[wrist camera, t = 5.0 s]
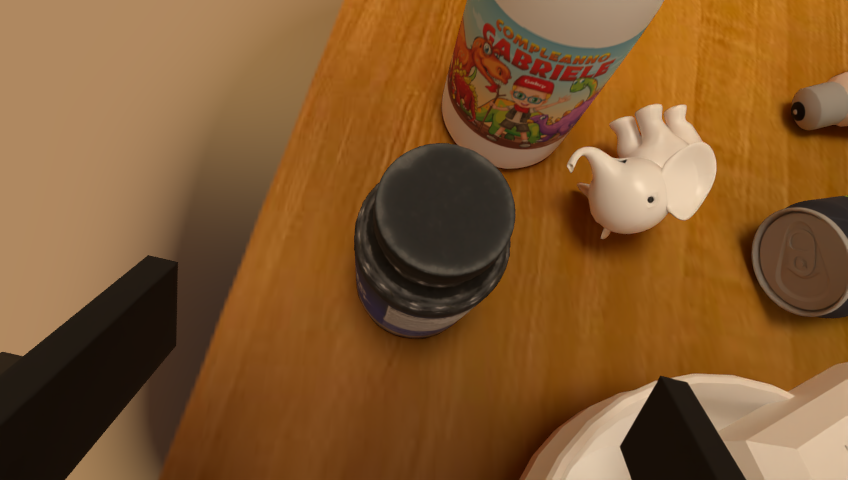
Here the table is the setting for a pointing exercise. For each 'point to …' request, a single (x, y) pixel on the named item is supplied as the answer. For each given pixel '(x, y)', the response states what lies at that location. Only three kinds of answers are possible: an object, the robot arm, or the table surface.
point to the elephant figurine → (648, 171)
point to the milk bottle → (534, 71)
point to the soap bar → (796, 433)
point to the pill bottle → (432, 239)
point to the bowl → (612, 418)
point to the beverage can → (805, 257)
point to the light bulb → (822, 104)
